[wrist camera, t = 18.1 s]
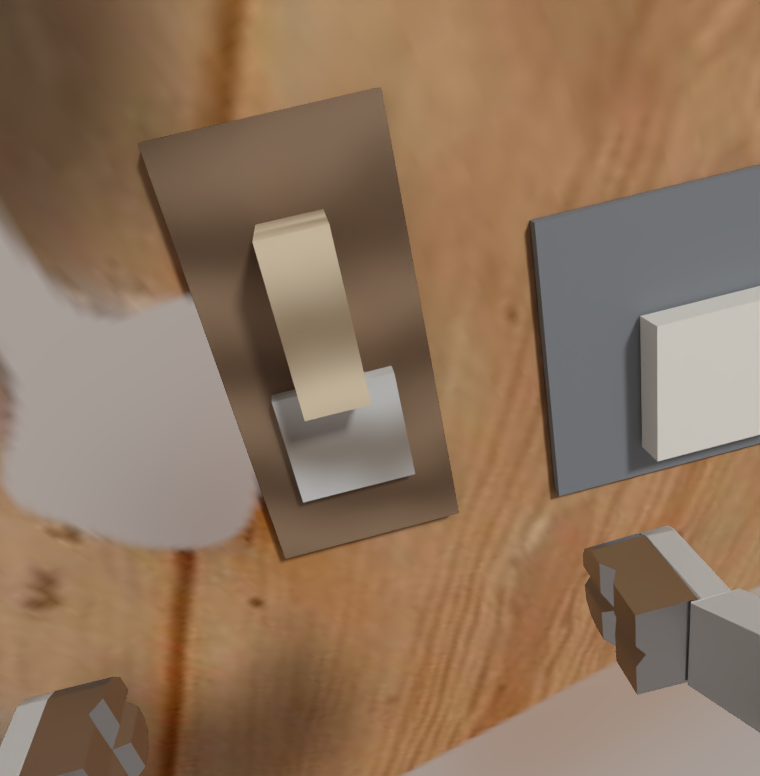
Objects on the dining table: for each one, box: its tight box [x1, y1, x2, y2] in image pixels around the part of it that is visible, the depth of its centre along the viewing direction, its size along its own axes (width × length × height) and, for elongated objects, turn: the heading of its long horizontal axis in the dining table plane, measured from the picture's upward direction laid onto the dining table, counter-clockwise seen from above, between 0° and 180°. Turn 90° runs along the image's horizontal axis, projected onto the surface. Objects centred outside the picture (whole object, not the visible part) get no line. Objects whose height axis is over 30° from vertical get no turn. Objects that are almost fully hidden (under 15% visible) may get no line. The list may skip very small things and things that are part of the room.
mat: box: [530, 165, 760, 496], centre depth 33 cm, size 16×18×1 cm
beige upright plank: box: [252, 209, 415, 503], centre depth 28 cm, size 14×6×4 cm, turn 11°
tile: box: [640, 286, 760, 461], centre depth 33 cm, size 2×8×8 cm
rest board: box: [138, 88, 459, 559], centre depth 30 cm, size 22×10×1 cm, turn 12°
